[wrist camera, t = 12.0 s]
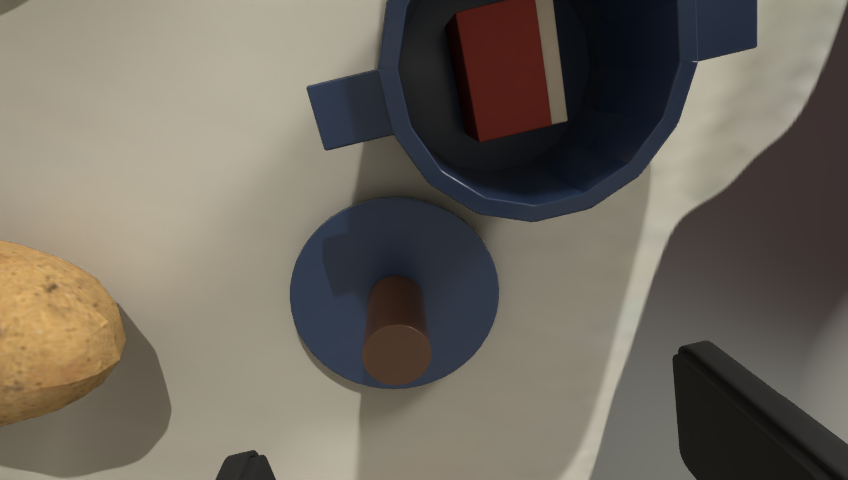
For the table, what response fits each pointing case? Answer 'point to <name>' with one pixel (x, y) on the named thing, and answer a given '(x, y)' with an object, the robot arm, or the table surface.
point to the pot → (583, 87)
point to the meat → (507, 68)
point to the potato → (52, 333)
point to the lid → (394, 292)
